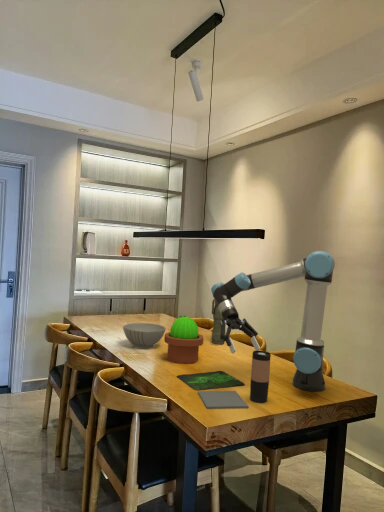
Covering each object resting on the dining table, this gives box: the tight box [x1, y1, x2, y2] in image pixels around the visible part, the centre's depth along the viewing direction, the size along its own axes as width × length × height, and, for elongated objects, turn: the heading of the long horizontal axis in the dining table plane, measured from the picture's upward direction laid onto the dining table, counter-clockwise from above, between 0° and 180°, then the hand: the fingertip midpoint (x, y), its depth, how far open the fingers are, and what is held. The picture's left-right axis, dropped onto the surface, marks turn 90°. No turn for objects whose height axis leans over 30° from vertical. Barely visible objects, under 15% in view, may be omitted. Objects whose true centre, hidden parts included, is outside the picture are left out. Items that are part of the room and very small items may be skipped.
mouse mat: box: [176, 370, 245, 392], centre depth 184 cm, size 27×22×1 cm
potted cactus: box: [163, 315, 204, 364], centre depth 218 cm, size 22×22×25 cm
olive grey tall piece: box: [211, 298, 225, 346], centre depth 266 cm, size 9×12×35 cm
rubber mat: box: [197, 390, 250, 410], centre depth 160 cm, size 17×17×1 cm
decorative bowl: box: [122, 322, 167, 349], centre depth 244 cm, size 27×27×12 cm
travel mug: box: [249, 350, 272, 404], centre depth 163 cm, size 8×8×20 cm
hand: (246, 351), depth 171 cm, fingers open, 13 cm apart
